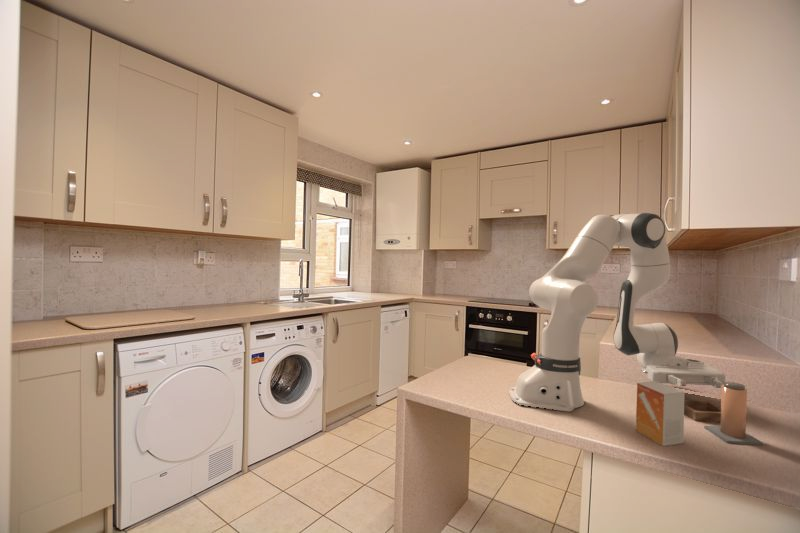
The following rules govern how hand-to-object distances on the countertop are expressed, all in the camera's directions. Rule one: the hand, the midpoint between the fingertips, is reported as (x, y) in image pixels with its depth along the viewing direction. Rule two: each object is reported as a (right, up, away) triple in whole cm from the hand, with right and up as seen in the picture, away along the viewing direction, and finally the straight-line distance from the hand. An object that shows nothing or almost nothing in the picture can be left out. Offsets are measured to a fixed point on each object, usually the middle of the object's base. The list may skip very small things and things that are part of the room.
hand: (701, 384), depth 106 cm
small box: (-21, -10, -12) cm, 26 cm away
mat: (-2, -10, -12) cm, 15 cm away
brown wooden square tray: (+1, -9, +1) cm, 9 cm away
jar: (-1, -9, -12) cm, 15 cm away
